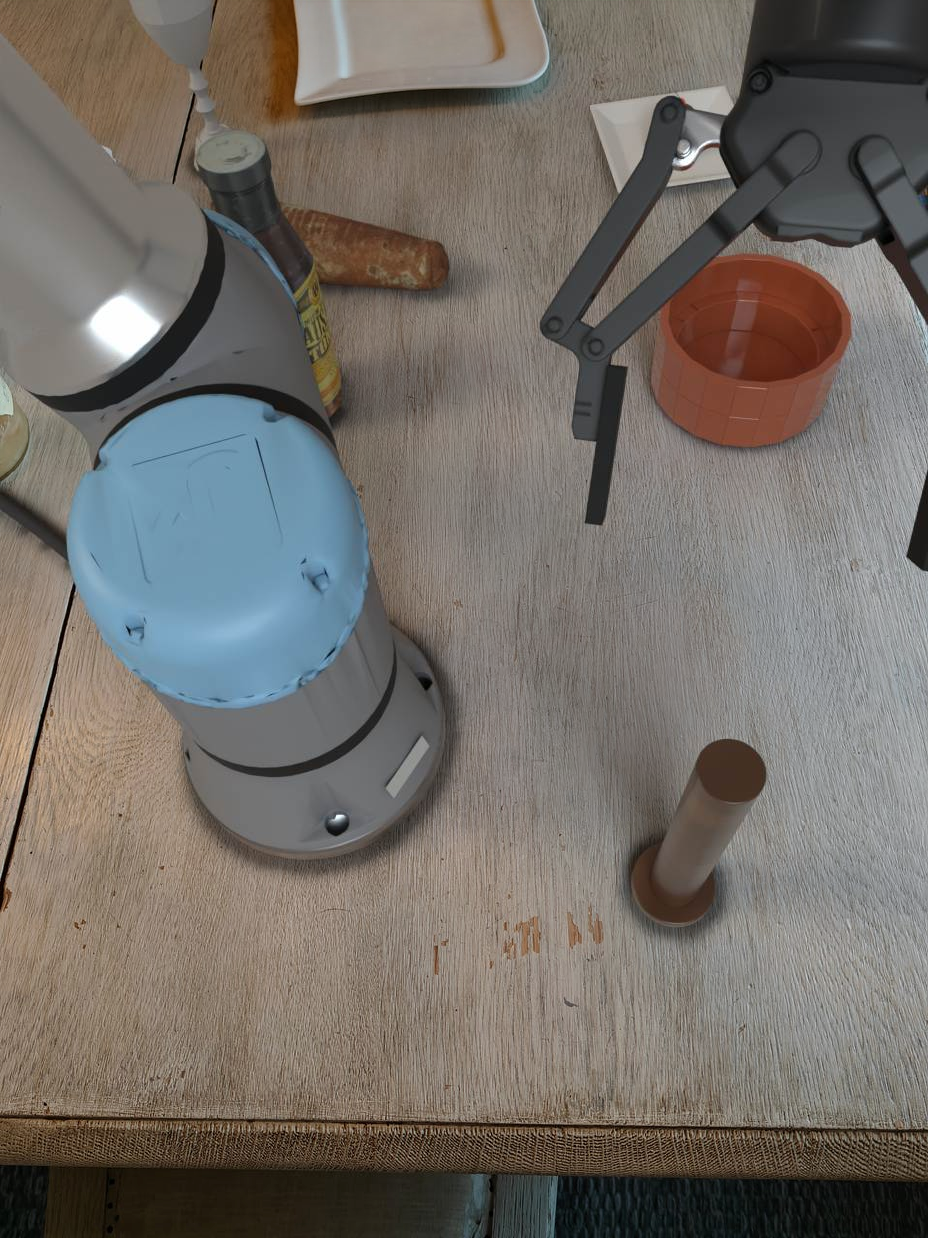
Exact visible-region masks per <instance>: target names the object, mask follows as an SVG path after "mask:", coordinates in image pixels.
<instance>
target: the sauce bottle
mask: <svg viewBox="0 0 928 1238" xmlns="http://www.w3.org/2000/svg"><path fill="white" fill-rule="evenodd" d="M196 163H197V166H198V169H199V171H198V173H199V175H200V178H201V181H202V183H203V184H204V185H205V186H206V187H207V190H208V192H209V196H210V198H211V202H212V201H213V204H214V208H215V211H216V212H217V213H219V214H222V215H224V216H226V217H228V218H230V219H231V220H233V221H234V222H236V223H237V224H239V225H240V226H241V227H243V228H244V229H246V230H247V231H248V232H249V233H250V234H252V235H253V236H254V237H255V238H256V239H257V240H258V241H259V242H260V243H261V244H262V246H263V247H264V248H265V249H266V250H267V252H268V253H269V254H270V256H271V257H272V259H273V260H274V262H275V263H276V265H277V267H278V268H279V270H280V272H281V273H282V275H283V276H284V278H285V280H286V281H287V283H288V285H289V287H290V289H291V291H292V293H293V295H294V297H295V300H296V302H297V309H298V311H299V312H300V316H301V320H302V324H303V330H304V339H305V344H306V347H307V350H308V354H309V357H310V360H311V363H312V367H313V370H314V373H315V377H316V380H317V383H318V386H319V390H320V393H321V396H322V399H323V403H324V406H325V409H326V413H327V416H328V419H330V418H331V417H332V416H333V415H334V414H335V413H336V412H337V411H338V409H339V406H340V405H341V402H342V396H343V395H342V374H341V371H340V367H339V362H338V358H337V354H336V349H335V345H334V340H333V337H332V333H331V327H330V323H329V320H328V316H327V311H326V306H325V303H324V298H323V294H322V290H321V286H320V283H319V281H318V277H317V272H316V267H315V264H314V260H313V256H312V254H311V253H310V252H309V251H308V249H307V248H306V246H305V245H304V243H303V242H302V240H301V239H300V237H299V236H298V234H297V233H296V231H295V230H294V228H293V227H292V225H291V224H290V223H289V221H288V220H287V218H286V217H285V215H284V214H283V212H282V211H281V205H280V203H279V202H280V201H279V199H278V197H277V193H276V190H275V184H274V181H273V178H272V167H273V165H272V160H271V157H270V154H269V150H268V147H267V144H266V142H265V140H264V139H263V138H262V137H260V136H259V135H257V134H255V133H254V132H251V131H247V130H244V129H243V130H237V129H236V130H234V131H228V132H223V133H220V134H218V135H215V136H213V137H211V138H209V139H207V140H206V141H205V142H204V143H203V144H202V145H201V146H200V147H199V149H198V152H197V154H196Z"/></svg>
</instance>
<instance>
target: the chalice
mask: <svg viewBox="0 0 928 1238" xmlns="http://www.w3.org/2000/svg"><path fill="white" fill-rule="evenodd" d="M128 1H129V4H130V7H131V9H132V12H133V14H134V17H135V19H136V20H137V21H138V22H139V24H140V26H142V29H144V31H145V32H146V33H147V35H148V36H149V37H150V39H151V40H152V41H153V43H155V44H156V45H157V46H158V48H160V49H161V50H162V52H163V53H164V54H165V55H166V56H167V57H168V58H169V59H170V60H171V61H172V62H173V63H174V64H175V65H179V66H185V67H186V69H187V70H188V75H189V84H188V87H189V89H190V90H191V91H192V92H193V93H194V94H195V96H196V104H195V106H194V110H195V111H196V112H198V113H199V114H200V115H201V116H202V118H203V120H204V127H203V128H202V129H201V130H200V131H199V132H198V134H197V137H196V138H195V143H194V144H195V148H194V158H193V167H194V168H195V170H196V171H197V172H199V169H198V166H197V163H196V154H197V152H198V149H199V147H200V146H201V145H202V144H203V143H204V142H205V141H206V140H207V139H209V138H211V137H213V136H215V135H218V134H220V133H223V132H228V131H235V130H234V129H233V128H231V127H230V126H229V125H226V124H223V123H219V122H218V120H217V119H216V116H215V114H216V113H215V108H216V107H217V102H216V101H215V100H214V99H212V98H211V97H210V95H209V94H208V86H209V84H210V83H209V80H208V79H207V78H205V77H204V74H203V73H202V71H201V68H200V62H201V61H203V60H204V59H205V58H206V57H207V56H208V50H209V42H210V37H211V31H212V24H213V3H214V2H213V0H128Z"/></svg>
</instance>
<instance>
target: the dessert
mask: <svg viewBox="0 0 928 1238" xmlns="http://www.w3.org/2000/svg"><path fill="white" fill-rule="evenodd" d="M666 96H676V97H678V98H680V99H681V100H682V101H683V102H684V105H685V107H686V108H691V109H696V110H701V111H706V112H711V113H716V114H722V115H728V114H729V112H730V111H731V110H732V108H733V107H734V105H735V103H734V102H733V100H732V98H731V96H730V93H729V91H728V89H727V86H726V85H717V86H710V87H705V88H697V89H691V90H683V91H677V90H674V92H670V93H663V94H662V93H661V94H656V95H650V96H643V97H635V98H628V99H623V100H615V101H608V102H601V103H594V104H590V105H589V109H590V112H591V115H592V119H593V121H594V124H595V127H596V130H597V133H598V136H599V140H600V142H601V145H602V148H603V150H604V154H605V157H606V160H607V162H608V163H607V164H608V167H609V169H610V172H611V175H612V178H613V181H614V184H615V188H616V191H617V193H618V194H619V193H620V192H621V190H622V189H623V187H624V186H625V184H626V182H627V181H628V179H629V178H630V176H631V174H632V173H633V171H634V170H635V168H636V166H637V165H638V163H639V162H640V160H641V158H642V155H643V151H644V147H645V144H646V140H647V136H648V132H649V128H650V124H651V120H652V116H653V112H654V109H655V107H656V104H657V103H658V102H659V101H660V100H661V99H662V98H664V97H666ZM723 179H724V180H725V179H731V177H730V175H729V173H728V171H727V169H726V166H725V164H724V162H723V160H722V158H721V156H720V153H719V148H709V149H706V150H704V151H703V152H702V153H701V154H700V155H699V156H698V158H697V160H696V162H695V164H694V165H693V166H692V167H691V168H689V169H688V170H685V171H676V170H673V172H672V175H671V177H670V180H669V182H668V184H667V186H666V188H669V187H676V186H683V185H689V184H697V183H703V182H711V181H717V180H723Z"/></svg>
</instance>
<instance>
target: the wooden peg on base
mask: <svg viewBox="0 0 928 1238" xmlns="http://www.w3.org/2000/svg"><path fill="white" fill-rule="evenodd" d="M696 758H697V759H696V761H695V764H694V766H693V768H692V771H691V773H690V775H689V778H688V780H687V783H686V785H685V787H684V790H683V793H682V795H681V797H680V800H679V801H678V805H677V807H676V810H675V812H674V815H673V817H672V819H671V822H670V824H669V826H668V829H667V831H666V834H665V836H664V839H663V841H662V842H660V843H657V844H654V845H652V846H650V847H648V848H647V849H646V850H644V851H643V852H642V854H640V855H639V857H638V858H637V860H636V862H635V863H634V866H633V869H632V872H631V876H630V889H631V893H632V896H633V899H634V902H635V904H636V905H637V907H638V908H639V910H640V911H641V912H642V914H644V915H645V916H646V917H647V918H648V919H650V920H651V921H652V922H655V923H656V924H658V925H661V926H664V927H667V928H685V927H689V926H691V925H693V924H695V923H697V922H698V921H700V920H701V919H702V918H704V916H705V915H706V914H707V913H708V911H709V910H710V908H711V906H712V904H713V903H714V899H715V895H716V891H717V890H716V889H717V888H716V879H715V874H714V872H713V870H714V868H715V867H716V865H717V863H718V861H719V860H720V858H722V857H721V856H723V853H724V852H725V850H726V849H727V847H728V846H729V844H730V842H731V841H732V839H733V838H734V837H735V835H736V833H737V831H738V830H739V828H740V827H741V825H742V823H743V822H744V820H745V819H746V817H747V815H748V814H749V812H750V811H751V809H752V807H753V806H754V805H755V803H756V801H757V800H758V798H759V796H760V795H761V793H762V791H763V790H764V788H765V786H766V782H767V767H766V765H765V762H764V760H763V758H762V757H761V754H759V752H758V751H757V750H756V749H755V748H754V747H752V746H751V745H749V744H748V743H746V742H744V741H742V740H738V739H734V738H720V739H717V740H714V741H711V742H710V743H708V744H706V746H704V748H702V750H701V751H700V752H699V754H698V756H697V757H696Z"/></svg>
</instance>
